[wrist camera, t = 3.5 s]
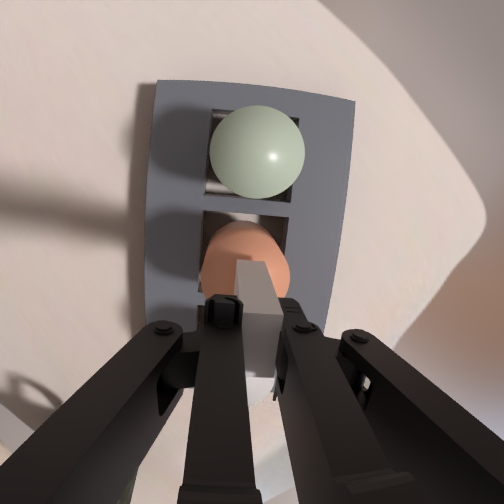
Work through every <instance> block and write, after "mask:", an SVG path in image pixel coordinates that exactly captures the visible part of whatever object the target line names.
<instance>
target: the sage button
mask: <svg viewBox="0 0 504 504" xmlns="http://www.w3.org/2000/svg"><path fill="white" fill-rule="evenodd" d="M304 158H305V147H304V141H303V138H302V135H301V133H300V131H299V129H298V127H297V126H296V125H295V123H294V122H293V121H292V120H291V119H290V118H289V117H288V116H287V115H285V114H284V113H282V112H281V111H279V110H276V109H274V108H271V107H267V106H259V105H255V106H247V107H243V108H240V109H237V110H235V111H234V112H232V113H230V114H229V115H227V116H226V117H225V118H224V119H223V120H222V121H221V122H220V123H219V125H218V126H217V128H216V129H215V131H214V133H213V136H212V139H211V143H210V161H211V165H212V168H213V170H214V172H215V174H216V176H217V177H218V179H219V180H220V181H221V183H222V184H223V185H224V186H225V187H227V188H228V189H229V190H231V191H232V192H234V193H236V194H238V195H240V196H243V197H247V198H254V199H261V198H268V197H272V196H275V195H277V194H279V193H281V192H283V191H284V190H286V189H287V188H288V187H289V186H291V185H292V184H293V182H294V181H295V180H296V179H297V177H298V176H299V174H300V172H301V170H302V167H303V164H304Z"/></svg>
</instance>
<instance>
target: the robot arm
mask: <svg viewBox="0 0 504 504" xmlns="http://www.w3.org/2000/svg"><path fill="white" fill-rule="evenodd" d="M275 367H276V371H277V378H276V384H275V389H274V395H273V401H276V397H277V396H278V401H279V406H280V411H281V416H282V421H283V426H284V431H285V436H286V441H287V446H288V451H289V456H290V461H291V466H292V471H293V476H294V481H295V486H296V491H297V495H298V501H299V504H504V441H503V440H502V439H501V438H499V437H498V436H497V435H496V434H495V433H494V432H492V431H491V430H490V429H489V428H487V427H486V426H485V425H484V424H482V423H481V422H480V421H479V420H477V419H476V418H475V417H474V416H472V414H470V413H469V412H468V411H467V410H465V409H464V408H463V407H462V406H461V405H459V404H458V403H457V402H456V401H454V400H453V399H452V398H451V397H449V396H448V395H447V394H446V393H444V392H443V391H442V390H441V389H439V388H438V387H437V386H436V385H434V384H433V383H432V382H431V381H430V380H428V379H427V378H426V377H425V376H423V375H422V374H421V373H420V372H418V371H417V370H416V369H415V368H414V367H412V366H411V365H410V364H408V363H407V362H406V361H405V360H404V359H402V358H401V357H400V356H398V355H397V354H396V353H395V352H394V351H392V350H391V349H390V348H389V347H387V346H386V345H385V344H384V343H382V342H381V341H380V340H379V339H377V338H376V337H375V336H374V335H372V334H370V333H369V332H366V331H364V330H361V329H360V330H359V329H350V330H346V331H344V332H343V333H342V336H341V340H339V339H333V338H328V337H324V335H323V333H322V331H321V329H320V328H319V327H318V326H317V325H316V324H314V323H311V322H308V320H307V318H306V316H305V314H304V313H303V310H302V309H301V306H300V304H299V302H297V301H296V300H294V299H293V298H283V297H277V294H276V291H275V289H274V286H273V283H272V280H271V277H270V274H269V272H268V269H267V266H266V263H265V261H254V260H241V259H237V263H236V275H235V287H234V295H223V294H214V295H213V296H211V297H210V298H207V299H206V301H205V310H204V326H203V328H201V329H199V330H197V331H193V332H185V333H183V329H182V327H181V326H180V325H179V324H177V323H174V322H171V321H166V320H162V321H161V320H159V321H155V322H151V323H149V324H148V325H146V326H145V327H144V328H143V329H142V330H141V331H140V332H138V333H137V334H136V335H135V336H134V337H133V338H132V339H131V340H130V341H129V342H128V343H127V344H126V345H125V346H124V347H123V348H121V349H120V350H119V351H118V352H117V353H116V354H115V355H114V356H113V357H112V358H111V359H110V360H109V361H108V362H107V363H106V364H105V365H104V366H102V367H101V368H100V369H99V370H98V371H97V372H96V373H95V374H94V375H93V376H92V377H91V378H90V379H89V380H88V381H87V382H86V383H85V384H84V385H83V386H82V387H80V388H79V389H78V390H77V391H76V392H75V393H74V394H73V395H72V396H71V397H70V398H69V399H68V400H67V401H66V402H65V403H64V404H63V405H62V406H61V407H60V408H59V409H58V410H57V411H56V412H55V413H54V414H53V415H52V416H50V417H49V418H48V419H47V420H46V421H45V422H44V423H43V424H42V425H41V426H40V427H39V428H38V429H37V430H36V431H35V432H34V433H33V434H32V435H31V436H30V437H29V438H28V439H27V440H26V441H25V442H24V443H23V444H22V445H21V446H20V447H19V448H18V449H17V450H16V451H15V452H14V453H13V454H12V455H11V456H10V457H9V458H8V459H7V460H6V461H5V462H4V463H3V464H2V465H1V466H0V504H116V503H117V501H118V500H119V498H120V497H121V495H122V493H123V492H124V490H125V488H126V487H127V485H128V484H129V482H130V480H131V479H132V477H133V475H134V474H135V472H136V471H137V469H138V467H139V466H140V464H141V462H142V461H143V459H144V458H145V456H146V454H147V453H148V451H149V449H150V448H151V446H152V444H153V443H154V441H155V439H156V438H157V436H158V434H159V433H160V431H161V430H162V428H163V426H164V425H165V423H166V421H167V420H168V418H169V416H170V415H171V413H172V411H173V410H174V408H175V406H176V405H177V403H178V401H179V400H180V398H181V396H182V395H183V391H184V388H191V387H194V395H193V402H192V410H191V418H190V425H189V434H188V442H187V450H186V459H185V468H184V477H183V484H182V486H180V488H179V493H178V500H177V504H263V503H262V497H261V493H260V490H258V489H256V485H255V476H254V465H253V454H252V443H251V432H250V421H249V410H248V398H247V386H246V377H259V378H274V374H275ZM366 377H367V378H368V379H369V380H370V381H371V383H370V386H369V388H368V389H366V388H365V387H364V386H363V385H364V382H365V379H366Z"/></svg>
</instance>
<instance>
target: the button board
mask: <svg viewBox="0 0 504 504" xmlns="http://www.w3.org/2000/svg"><path fill="white" fill-rule="evenodd" d="M255 105H259V106H267V107H271V108H274V109H276V110H279V111H281V112H282V113H284V114H285V115H287V116H288V117H289V118H290V119H291V120H292V121H293V122H294V123H295V125H296V126H297V127H298V129H299V131H300V133H301V135H302V138H303V141H304V147H305V158H304V164H303V167H302V170H301V172H300V174H299V176H298V177H297V179H296V180H295V181H294V182H293V184H292V185H291V186H289V187H288V188H287V195H286V200H279V199H269V198H261V199H254V198H247V197H243V196H235V195H222V194H209V193H206V181H207V169H208V158H209V147H210V137H211V127H212V117H213V114H226V115H229V114H230V113H232V112H234V111H235V110H237V109H240V108H243V107H247V106H255ZM354 115H355V101H351V100H347V99H342V98H337V97H332V96H327V95H321V94H316V93H310V92H304V91H298V90H291V89H284V88H277V87H269V86H260V85H251V84H240V83H228V82H213V81H191V80H157V87H156V94H155V102H154V110H153V118H152V128H151V137H150V148H149V160H148V174H147V190H146V211H145V250H144V279H145V318H146V325H148V324H149V323H151V322H155V321H159V320H161V321H162V320H166V321H171V322H174V323H177V324H179V325H180V326H181V327H182V329H183V333H185V332H193V331H197V330H198V318H199V305H205V301H206V298H205V296H204V293H203V291H202V287H201V283H200V271H201V252H202V236H203V220H204V210H208V211H221V212H234V213H246V214H258V215H269V216H280V217H284V222H283V231H282V239H281V248H280V250H281V252H282V254H283V255H284V257H285V259H286V261H287V263H288V266H289V271H290V283H289V288H288V291H287V293H286V295H285V297H284V298H293V299H294V300H296V301H297V302H299V304H300V306H301V309H302V310H303V313H304V314H305V316H306V318H307V320H308V322H311V323H314V324H316V325H317V326H318V327H319V328H320V329H321V331H322V333H324V328H325V324H326V319H327V314H328V309H329V303H330V298H331V293H332V287H333V282H334V276H335V270H336V264H337V258H338V252H339V246H340V239H341V233H342V226H343V219H344V211H345V204H346V196H347V188H348V179H349V170H350V160H351V150H352V139H353V128H354ZM274 376H275V380H274V385H273V388H272V390H271V391H270V392H274V389H275V384H276V378H277V371H276V367H275V374H274ZM191 388H194V387H191Z"/></svg>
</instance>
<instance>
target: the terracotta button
mask: <svg viewBox="0 0 504 504" xmlns="http://www.w3.org/2000/svg"><path fill="white" fill-rule="evenodd" d="M237 259H241V260H254V261H265V263H266V266H267V269H268V272H269V274H270V277H271V280H272V283H273V286H274V289H275V291H276V294H277V297H283V298H284V297H285V295H286V293H287V291H288V288H289V283H290V271H289V266H288V263H287V261H286V259H285V257H284V255H283V254H282V252H281V250H280V249H279V247H278V245H277V244H276V242H275V240H274V239H273V237H272V236H271V234H270V233H269V232H268V231H267V230H266V229H265V228H264V227H262V226H261V225H259V224H257V223H254V222H251V221H234V222H231V223H228V224H226V225H224V226H222V227H221V228H220V229H218V230H217V231H216V232H215V234H214V235H213V236H212V238H211V239H210V242H209V244H208V247H207V251H206V255H205V258H204V262H203V266H202V270H201V287H202V291H203V293H204V296H205V298H206V299H207V298H210V297H211V296H213V295H214V294H223V295H234V287H235V275H236V263H237Z"/></svg>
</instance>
